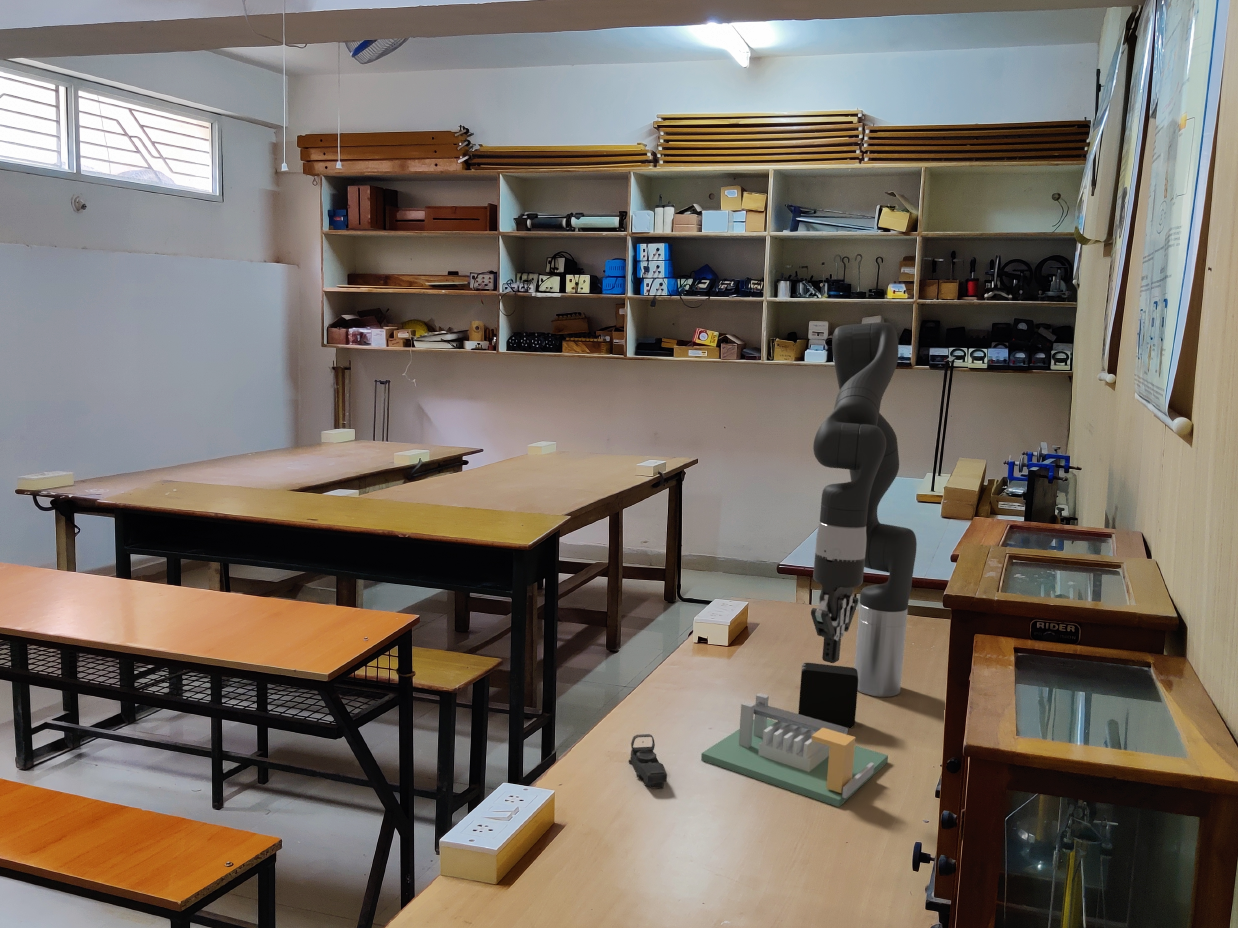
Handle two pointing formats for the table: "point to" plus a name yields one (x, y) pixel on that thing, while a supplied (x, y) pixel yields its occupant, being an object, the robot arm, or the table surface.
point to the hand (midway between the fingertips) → (830, 660)
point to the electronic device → (829, 693)
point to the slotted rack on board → (788, 757)
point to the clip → (837, 757)
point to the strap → (795, 719)
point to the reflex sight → (647, 764)
